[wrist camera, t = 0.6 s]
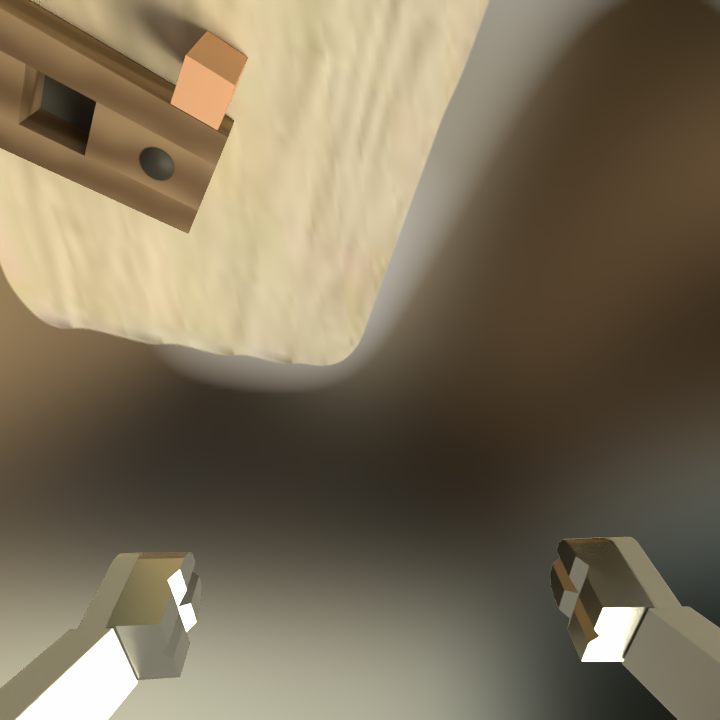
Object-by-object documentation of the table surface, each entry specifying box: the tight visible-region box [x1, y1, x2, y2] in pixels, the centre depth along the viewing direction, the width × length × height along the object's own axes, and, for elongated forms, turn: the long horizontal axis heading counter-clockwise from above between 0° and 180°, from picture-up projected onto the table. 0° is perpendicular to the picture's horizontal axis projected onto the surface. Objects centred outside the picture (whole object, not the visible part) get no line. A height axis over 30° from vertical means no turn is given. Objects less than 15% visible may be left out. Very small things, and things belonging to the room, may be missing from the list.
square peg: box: [170, 31, 248, 130], centre depth 41 cm, size 4×4×10 cm
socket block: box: [0, 0, 234, 233], centre depth 45 cm, size 12×20×5 cm, turn 57°
